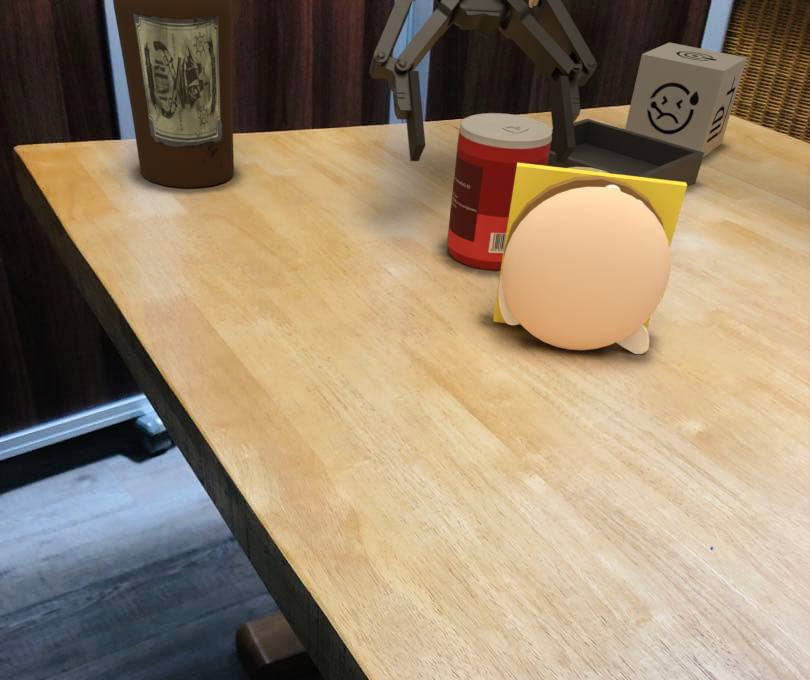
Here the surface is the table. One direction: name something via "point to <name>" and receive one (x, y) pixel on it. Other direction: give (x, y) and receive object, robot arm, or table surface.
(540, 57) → the robot arm
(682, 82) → the icon cube
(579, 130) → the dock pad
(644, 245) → the hamburger
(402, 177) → the table surface
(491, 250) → the canned food
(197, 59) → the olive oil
